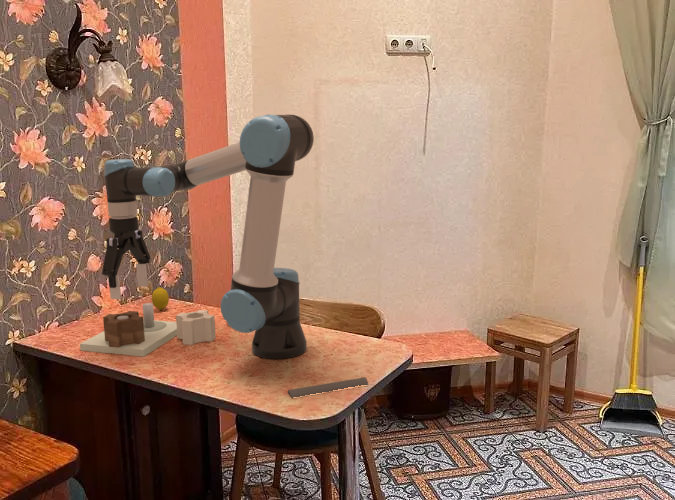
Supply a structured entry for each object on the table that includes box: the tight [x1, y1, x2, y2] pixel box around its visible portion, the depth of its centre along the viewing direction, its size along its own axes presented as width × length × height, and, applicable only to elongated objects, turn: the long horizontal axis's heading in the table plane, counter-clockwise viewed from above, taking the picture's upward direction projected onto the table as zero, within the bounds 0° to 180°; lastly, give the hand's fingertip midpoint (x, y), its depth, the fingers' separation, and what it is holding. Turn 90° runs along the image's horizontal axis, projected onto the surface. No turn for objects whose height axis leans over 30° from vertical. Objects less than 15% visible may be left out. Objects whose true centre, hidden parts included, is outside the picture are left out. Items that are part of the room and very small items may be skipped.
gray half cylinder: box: [287, 376, 369, 399], centre depth 158 cm, size 4×20×2 cm, turn 111°
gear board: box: [79, 302, 177, 358], centre depth 193 cm, size 20×24×9 cm
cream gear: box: [175, 309, 217, 346], centre depth 194 cm, size 11×11×7 cm
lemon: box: [151, 286, 170, 311], centre depth 222 cm, size 6×6×8 cm
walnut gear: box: [102, 310, 145, 348], centre depth 186 cm, size 11×11×7 cm
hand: (129, 292), depth 185 cm, fingers open, 13 cm apart
